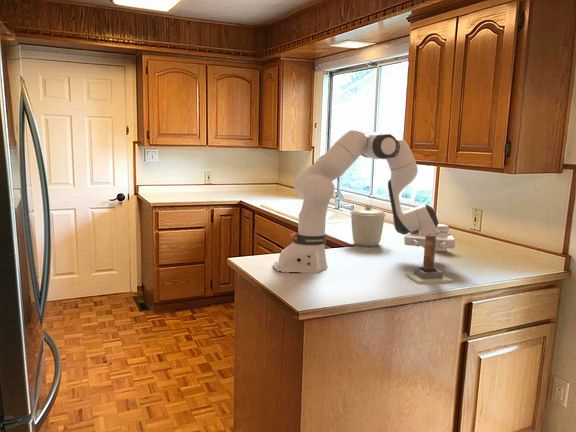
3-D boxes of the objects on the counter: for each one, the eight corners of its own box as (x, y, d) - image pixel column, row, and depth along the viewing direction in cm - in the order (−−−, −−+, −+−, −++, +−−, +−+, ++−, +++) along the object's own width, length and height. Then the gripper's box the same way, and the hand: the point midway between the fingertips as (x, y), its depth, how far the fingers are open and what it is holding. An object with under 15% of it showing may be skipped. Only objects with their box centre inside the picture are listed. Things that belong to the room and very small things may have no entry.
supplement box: (434, 252, 235) (436, 226, 233) (425, 248, 242) (427, 223, 240) (447, 251, 237) (449, 225, 235) (438, 247, 244) (440, 223, 242)
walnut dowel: (425, 277, 187) (428, 236, 185) (420, 274, 191) (423, 234, 189) (435, 277, 188) (438, 236, 186) (430, 274, 192) (433, 234, 190)
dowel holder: (417, 283, 183) (418, 274, 182) (404, 274, 194) (404, 266, 194) (452, 282, 185) (452, 273, 185) (436, 273, 197) (437, 265, 196)
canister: (362, 239, 261) (364, 200, 258) (391, 245, 248) (393, 204, 245) (341, 243, 248) (343, 203, 245) (370, 250, 236) (372, 207, 232)
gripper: (404, 229, 210) (403, 235, 197) (454, 232, 205) (456, 239, 192) (403, 243, 211) (402, 250, 198) (453, 247, 206) (455, 254, 193)
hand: (429, 245), depth 195 cm, fingers open, 8 cm apart
